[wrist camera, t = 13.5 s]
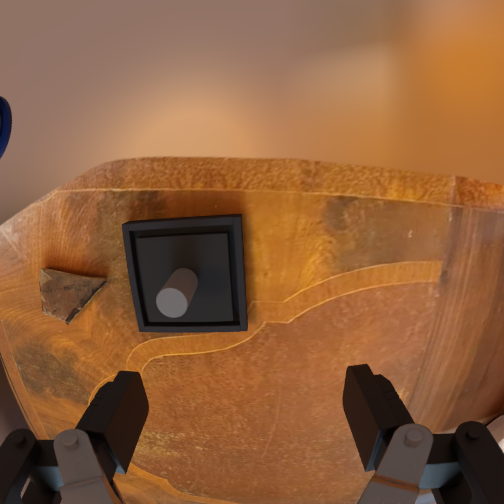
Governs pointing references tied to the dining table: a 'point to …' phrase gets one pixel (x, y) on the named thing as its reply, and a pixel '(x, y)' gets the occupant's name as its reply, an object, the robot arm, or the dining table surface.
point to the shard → (66, 293)
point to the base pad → (179, 227)
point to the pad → (195, 258)
